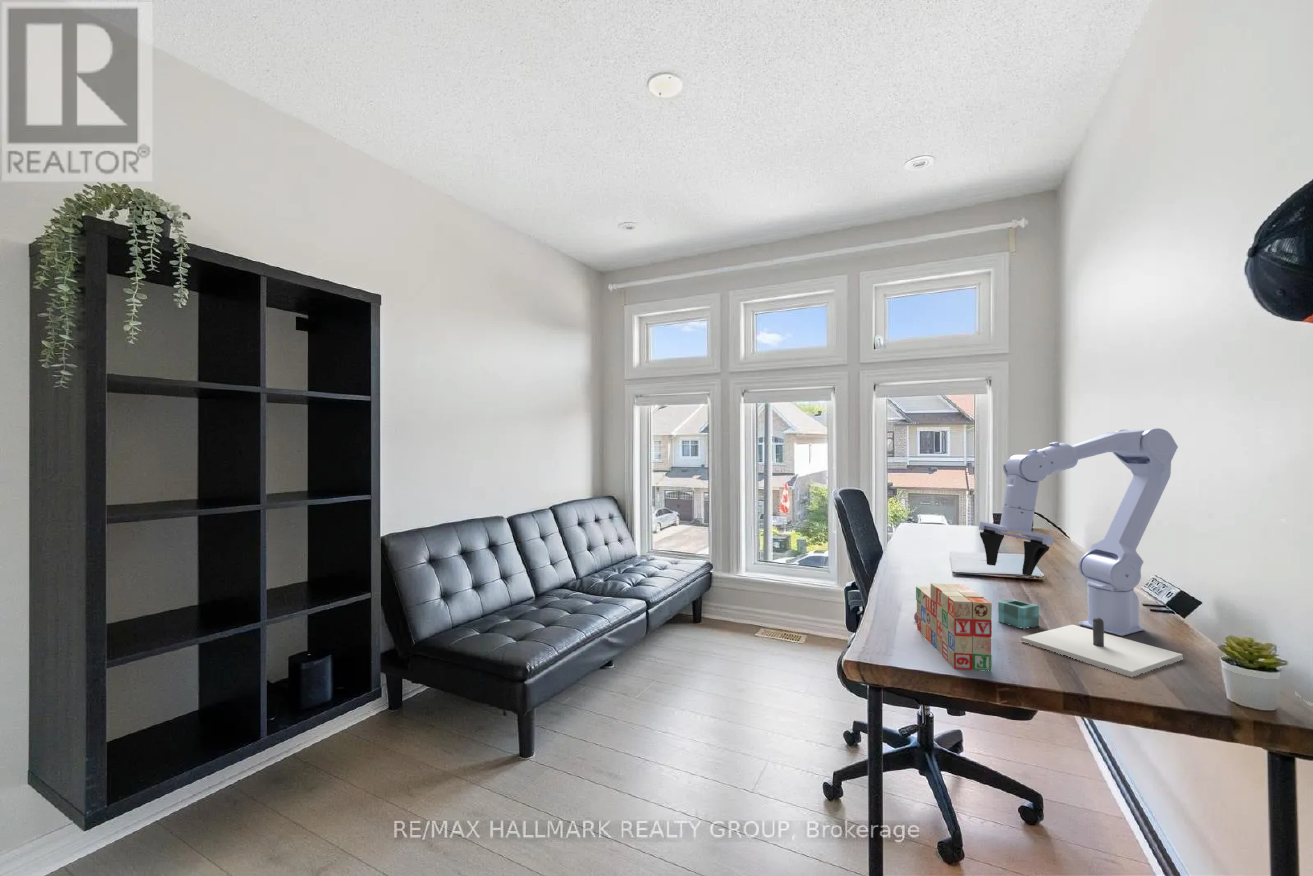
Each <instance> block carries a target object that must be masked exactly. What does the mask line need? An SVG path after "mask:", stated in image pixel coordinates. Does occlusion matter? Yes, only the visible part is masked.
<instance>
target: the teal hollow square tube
mask: <svg viewBox="0 0 1313 876" xmlns="http://www.w3.org/2000/svg"><path fill="white" fill-rule="evenodd" d="M1039 608H1040V607H1039V604H1035V603H1031V602H1027V601H1024V600H1023V601H1022V600H1020V599H1015V598H1012V599H1007V600H1006V599H1005V600H999V601H998V609H997V610H998V612H997V613H998V622H999V623H1000V622H1002V623H1001V624H1004V623H1007V624H1010V625H1009V626H1011V625H1013V626H1012V627H1014V626H1016V627H1015V628H1017V627H1022V628H1027V627H1032V628H1036V627H1035V626H1037V627H1040V614H1039V613H1040V612H1039V611H1040V609H1039ZM1007 624H1006V625H1007Z"/></svg>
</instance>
